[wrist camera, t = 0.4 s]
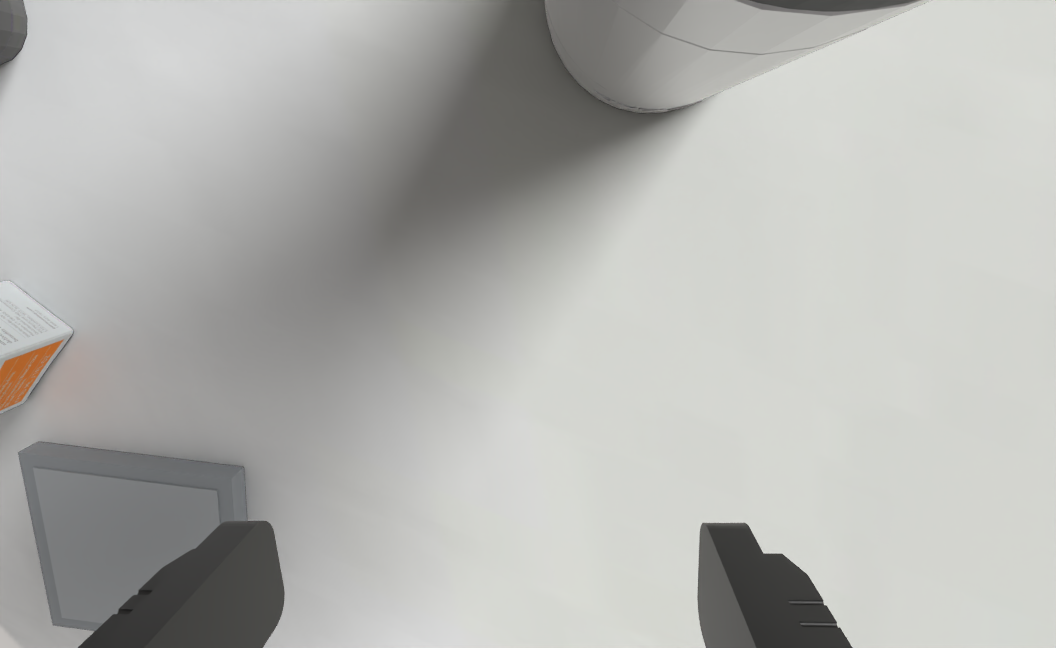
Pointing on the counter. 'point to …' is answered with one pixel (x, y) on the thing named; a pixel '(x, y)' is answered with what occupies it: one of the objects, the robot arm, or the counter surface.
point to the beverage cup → (12, 28)
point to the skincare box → (25, 344)
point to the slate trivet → (118, 521)
